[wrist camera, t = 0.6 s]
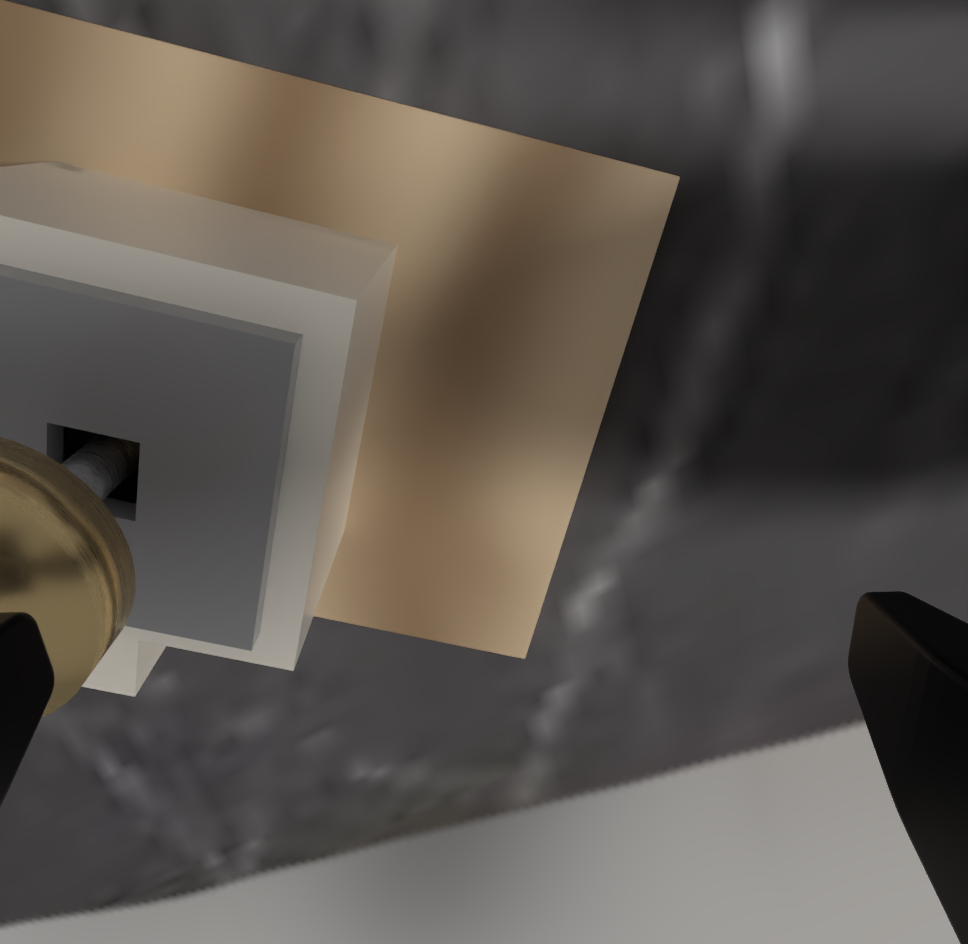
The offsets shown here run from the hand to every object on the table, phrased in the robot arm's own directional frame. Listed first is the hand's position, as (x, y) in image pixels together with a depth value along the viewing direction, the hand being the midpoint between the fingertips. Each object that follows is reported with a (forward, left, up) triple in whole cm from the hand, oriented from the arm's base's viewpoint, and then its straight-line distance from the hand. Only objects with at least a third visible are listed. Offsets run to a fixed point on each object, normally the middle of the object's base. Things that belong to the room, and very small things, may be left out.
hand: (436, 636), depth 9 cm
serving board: (+6, +2, -13) cm, 15 cm away
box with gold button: (+6, +2, -12) cm, 14 cm away
